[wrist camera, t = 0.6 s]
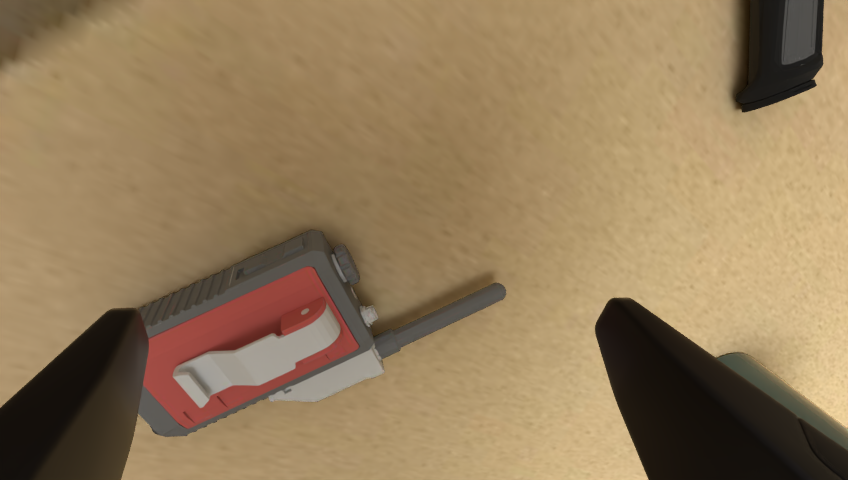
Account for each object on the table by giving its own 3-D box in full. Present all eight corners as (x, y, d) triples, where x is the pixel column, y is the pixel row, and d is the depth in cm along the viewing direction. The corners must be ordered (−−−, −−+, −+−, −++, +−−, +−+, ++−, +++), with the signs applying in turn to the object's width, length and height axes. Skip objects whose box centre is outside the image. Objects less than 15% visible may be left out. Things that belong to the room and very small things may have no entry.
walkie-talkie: (187, 438, 28) (501, 291, 29) (169, 506, 24) (533, 334, 25) (84, 326, 24) (453, 159, 25) (42, 387, 20) (483, 186, 21)
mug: (664, 414, 37) (820, 583, 26) (717, 343, 35) (909, 493, 24) (742, 434, 41) (909, 590, 30) (794, 370, 39) (993, 512, 28)
